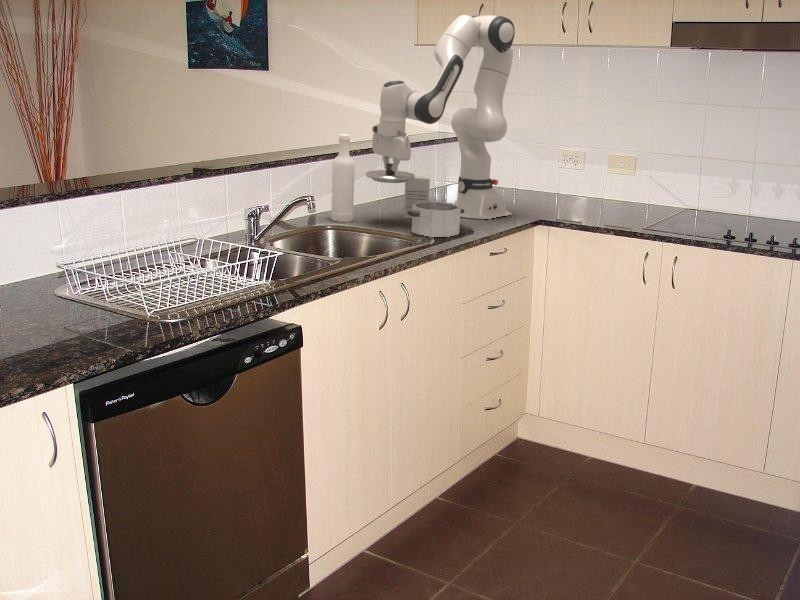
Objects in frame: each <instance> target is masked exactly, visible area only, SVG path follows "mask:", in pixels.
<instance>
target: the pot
mask: <svg viewBox="0 0 800 600" xmlns="http://www.w3.org/2000/svg"><path fill="white" fill-rule="evenodd" d="M460 213H464V209H461V208H460V206H458V205H456V203H455V204H454V203H449V202H443V201H429V202H418V203H415V204H413V209H412V211H408V215H410V216H412V218H411V230H412V231H411V233H412V232H413V233H412V234H414V233H416V234H420V235H424V236H423V237H425V236H429V237H428V238H434V237H447V238H451V237H450V236H455V235H457V236H459V235H460V224H461V217H460ZM416 234H415V235H416ZM458 234H459V235H458ZM455 237H456V236H455Z"/></svg>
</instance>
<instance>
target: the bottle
mask: <svg viewBox="0 0 800 600" xmlns="http://www.w3.org/2000/svg"><path fill="white" fill-rule="evenodd" d="M350 140H351V136H350V134H349V133H348V134H347V133H340V134H339V137H338V155H337V156H336V157H335V158H334V160H333V163H332V178H331V179H332V180H331V211H330V216H331V217H330V219H331V221H332V220H333V222H335V221H338V222H337V223H350V222H353V220H354V202H355V201H354V200H355V199H354V198H355V197H354V196H355V194H354V193H355V173H356V171H355V169H356V167H355V165H356V164H355V161H354V159H353V157H352V156H351V155H350Z"/></svg>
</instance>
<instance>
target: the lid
mask: <svg viewBox="0 0 800 600" xmlns="http://www.w3.org/2000/svg"><path fill="white" fill-rule="evenodd" d="M392 165H393V163H392V162H391V163H390V162H389V163H387V164H386V169H381V170H378V169H377V170H368V171H366V172H365V176H366V177H367V178H369V179H372V181H375V182H379V183H389V184H400V183H405V182H407V181H408V180H411V179H414V178H415V175H414V173H412V172H410V171H409V172H408V171H402V170H397V171H391V166H392Z"/></svg>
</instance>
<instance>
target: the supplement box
mask: <svg viewBox="0 0 800 600" xmlns="http://www.w3.org/2000/svg"><path fill="white" fill-rule="evenodd" d="M413 174H414V173H413ZM414 175H415V178H414V179H411V180H408V181H407V182H404V198H403V199H404V200H403V204H404V205H403V218H404V219H412V216H410V215H408V211H412V209H413V204H415V203H418V202H430V186H431V185H430V183H431V182H430V181H431V180H430V178H431V176H430V175H429V174H418V173H417V174H414Z"/></svg>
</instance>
